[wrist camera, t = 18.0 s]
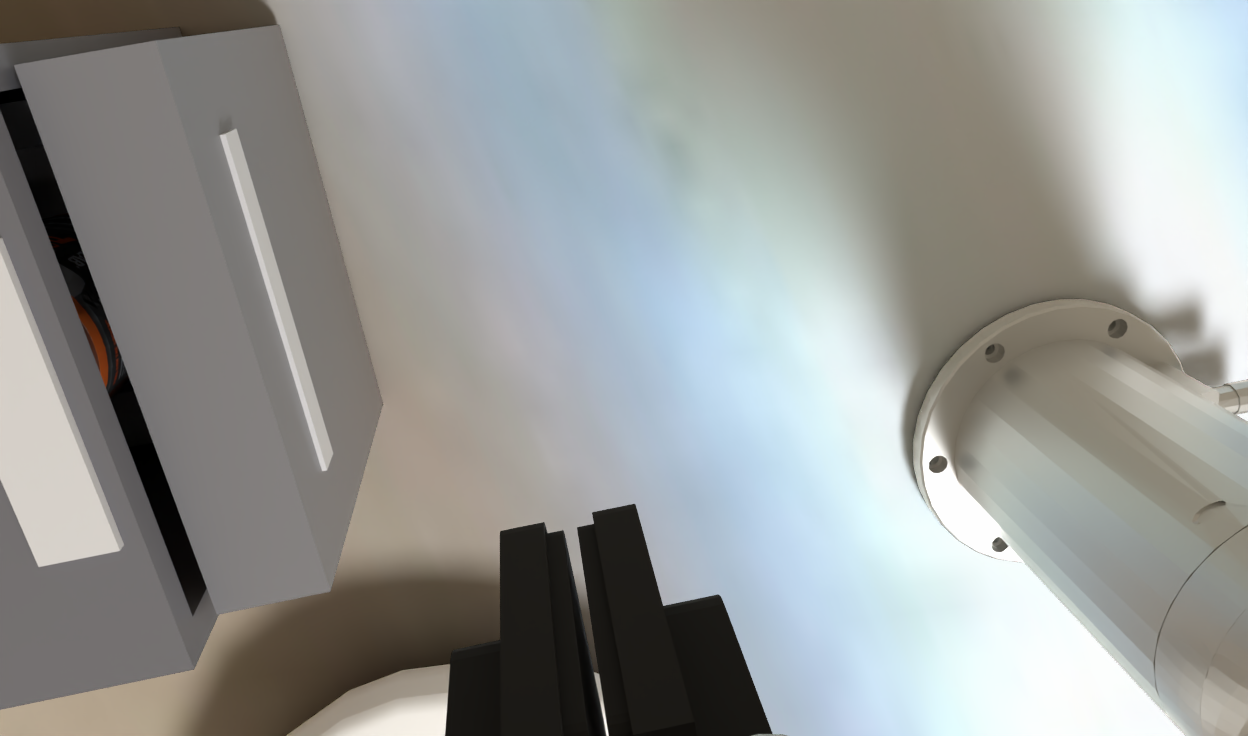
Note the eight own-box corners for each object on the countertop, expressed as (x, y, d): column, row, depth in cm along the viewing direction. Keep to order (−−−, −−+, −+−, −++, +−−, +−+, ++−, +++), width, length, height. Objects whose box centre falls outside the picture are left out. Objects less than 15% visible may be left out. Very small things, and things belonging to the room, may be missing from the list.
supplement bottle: (115, 176, 35) (-49, 253, 25) (218, 317, 37) (108, 442, 27) (-28, 258, 36) (-249, 368, 25) (83, 393, 38) (-79, 546, 27)
